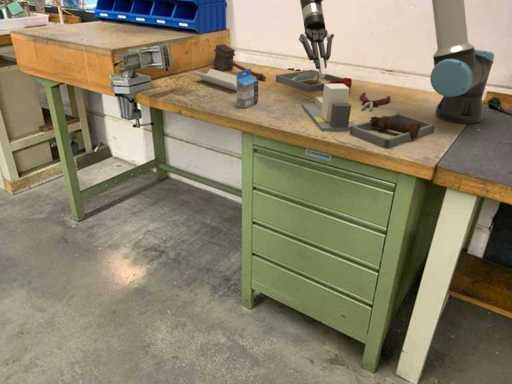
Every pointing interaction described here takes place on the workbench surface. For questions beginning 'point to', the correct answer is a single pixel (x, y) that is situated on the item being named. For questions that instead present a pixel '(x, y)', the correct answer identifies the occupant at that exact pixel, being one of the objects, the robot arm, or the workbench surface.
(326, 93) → the cream upright block
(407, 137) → the bolt parts frame
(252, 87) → the label tape box
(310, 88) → the bracket parts frame
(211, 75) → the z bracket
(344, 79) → the mechanical linkage
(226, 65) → the hammer
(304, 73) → the metal bracket
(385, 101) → the pliers
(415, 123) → the bolt
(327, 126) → the rail board
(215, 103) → the workbench surface
